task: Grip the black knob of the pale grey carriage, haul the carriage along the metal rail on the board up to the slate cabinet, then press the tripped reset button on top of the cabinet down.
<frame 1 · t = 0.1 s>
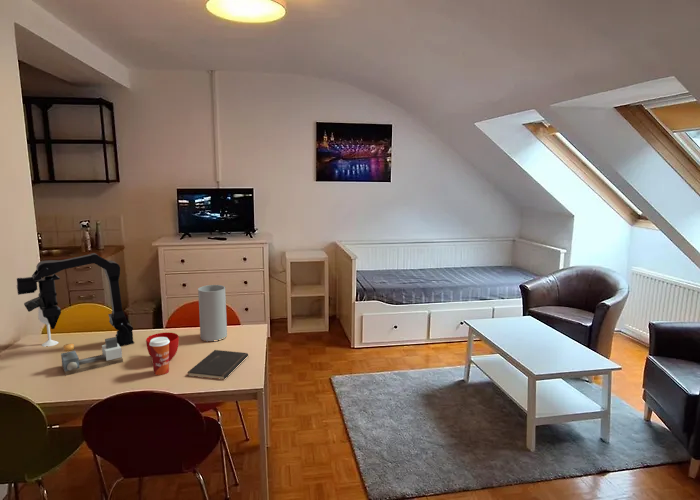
hand: (51, 325, 195), 15 cm above the table, tool pointing down, fingers open, 9 cm apart
carriage: (111, 347, 195), point 6 cm above the table, slide at 0.0 cm
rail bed: (93, 364, 192), on the table
reset button: (68, 347, 185), point 10 cm above the table, slide at 2.2 cm
ceramic cup: (161, 358, 199), on the table
hardcover book: (219, 367, 192), on the table
cylinder vase: (213, 337, 224), on the table
champagne flute: (50, 344, 213), on the table
paper cup: (161, 372, 185), on the table
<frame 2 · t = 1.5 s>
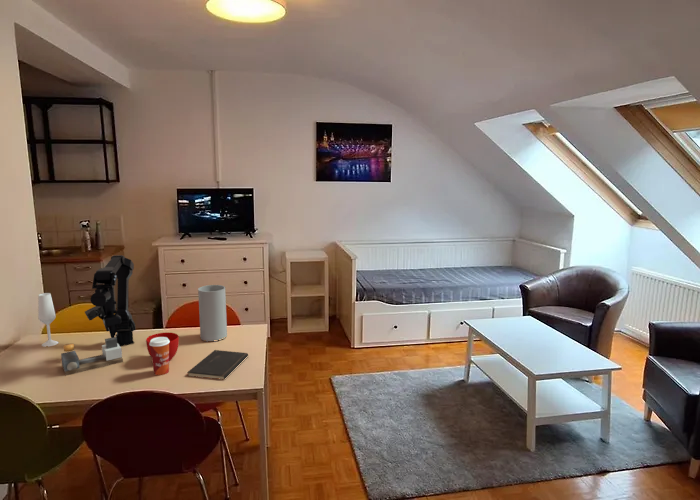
hand: (110, 334, 194), 12 cm above the table, tool pointing down, fingers open, 9 cm apart
nothing on the table moved.
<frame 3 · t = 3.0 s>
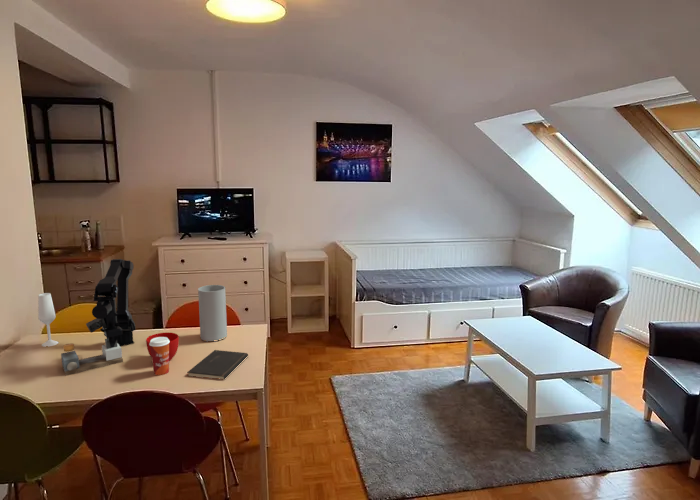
hand: (111, 346, 195), 6 cm above the table, tool pointing down, fingers closed on carriage, 3 cm apart
carriage: (111, 347, 195), point 6 cm above the table, slide at 0.0 cm, touching gripper
everything else where it was.
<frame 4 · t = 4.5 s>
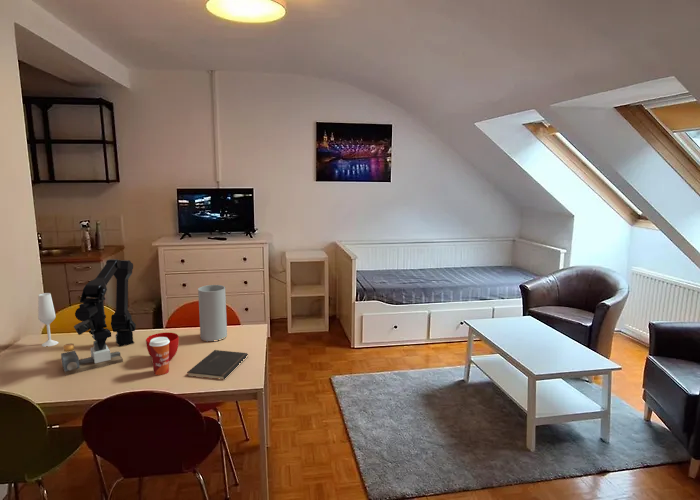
hand: (100, 348, 193), 6 cm above the table, tool pointing down, fingers closed on carriage, 3 cm apart
carriage: (100, 349, 193), point 6 cm above the table, slide at 4.4 cm, touching gripper
everything else where it was.
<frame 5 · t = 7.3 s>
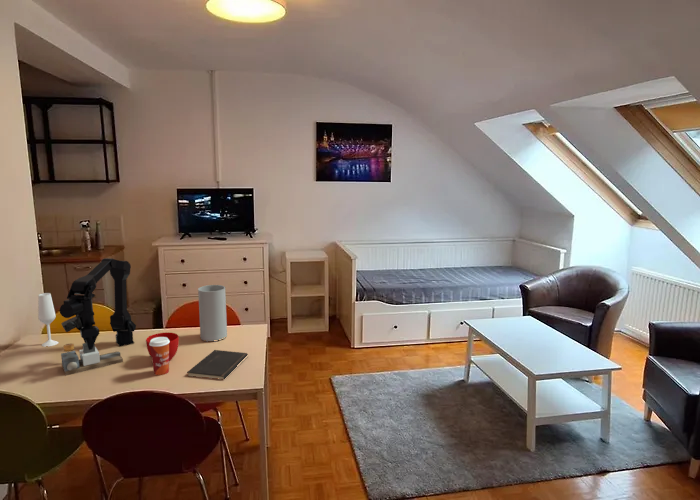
hand: (88, 346, 190), 8 cm above the table, tool pointing down, fingers open, 9 cm apart
carriage: (89, 352, 190), point 6 cm above the table, slide at 8.4 cm
everything else where it was.
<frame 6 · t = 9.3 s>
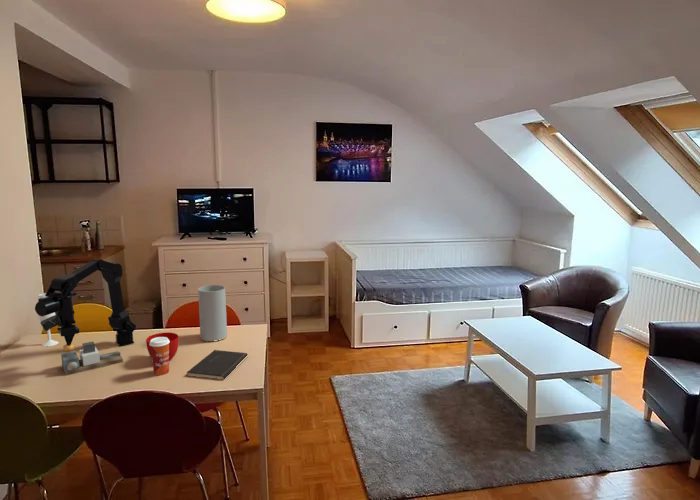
hand: (68, 345, 185), 10 cm above the table, tool pointing down, fingers closed, pressing on reset button
reset button: (68, 347, 185), point 9 cm above the table, slide at 2.1 cm, touching gripper
everything else where it was.
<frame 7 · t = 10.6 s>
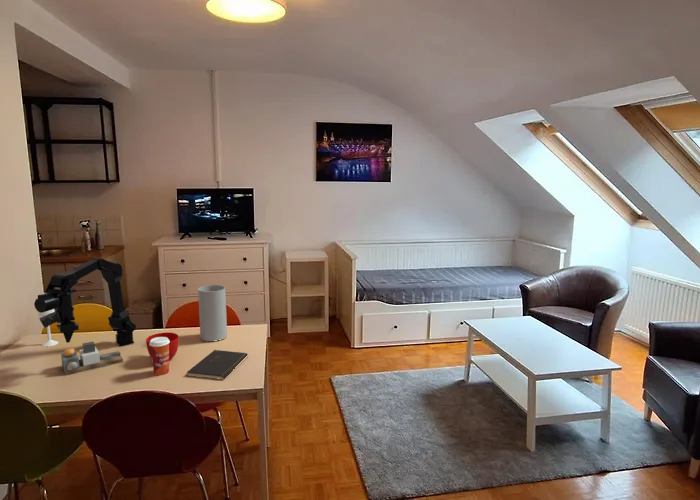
hand: (68, 342, 185), 12 cm above the table, tool pointing down, fingers closed
reset button: (69, 352, 185), point 7 cm above the table, slide at 0.2 cm
everything else where it was.
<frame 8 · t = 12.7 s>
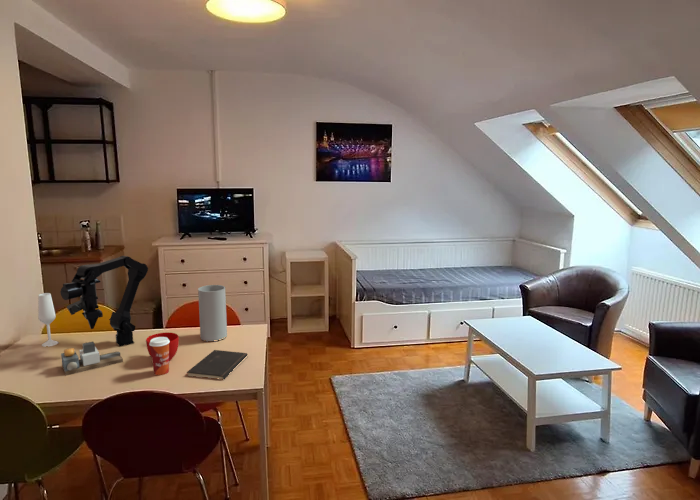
hand: (92, 328, 200), 12 cm above the table, tool pointing down, fingers closed
nothing on the table moved.
at the end: carriage slide at 8.4 cm; reset button slide at 0.2 cm; the gripper is holding nothing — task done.
